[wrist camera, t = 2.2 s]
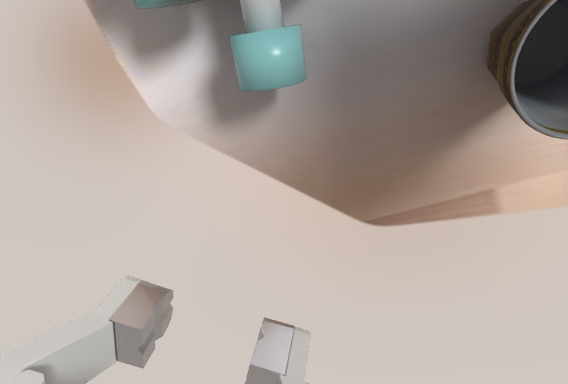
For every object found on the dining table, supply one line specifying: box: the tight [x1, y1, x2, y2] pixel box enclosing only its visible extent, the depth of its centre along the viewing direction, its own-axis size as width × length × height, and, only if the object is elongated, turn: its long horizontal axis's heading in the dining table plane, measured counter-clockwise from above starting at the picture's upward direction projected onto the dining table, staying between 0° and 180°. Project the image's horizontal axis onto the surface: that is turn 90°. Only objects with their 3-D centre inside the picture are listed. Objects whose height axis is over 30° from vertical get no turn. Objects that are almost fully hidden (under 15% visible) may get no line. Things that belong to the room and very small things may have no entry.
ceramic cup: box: [487, 0, 568, 139], centre depth 23 cm, size 13×10×10 cm
